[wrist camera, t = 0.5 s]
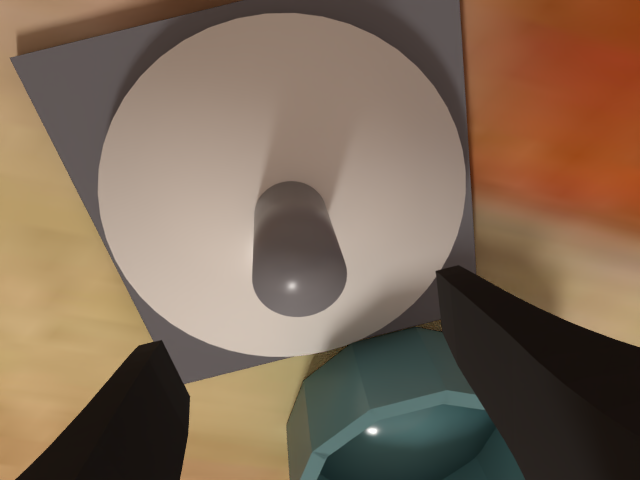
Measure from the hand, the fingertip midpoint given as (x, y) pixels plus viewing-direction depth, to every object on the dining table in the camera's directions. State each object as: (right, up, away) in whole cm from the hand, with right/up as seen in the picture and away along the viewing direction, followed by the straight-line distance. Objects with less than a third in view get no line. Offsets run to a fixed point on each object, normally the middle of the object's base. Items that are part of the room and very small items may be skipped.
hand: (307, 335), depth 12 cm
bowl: (+5, -8, +15) cm, 18 cm away
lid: (-1, +4, +8) cm, 9 cm away
